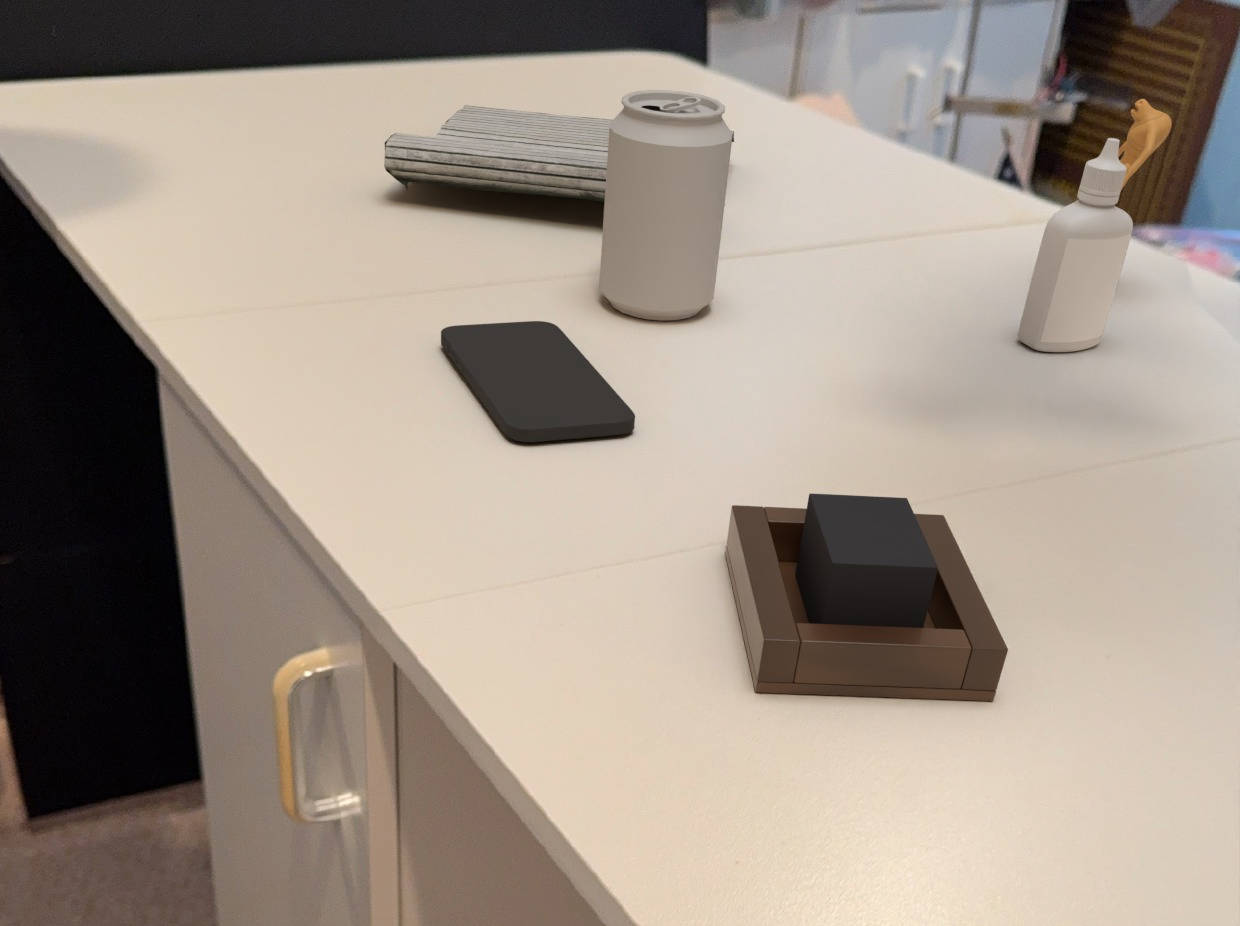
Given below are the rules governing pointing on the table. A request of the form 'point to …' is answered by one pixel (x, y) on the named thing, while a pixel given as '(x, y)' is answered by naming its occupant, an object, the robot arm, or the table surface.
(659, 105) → the can
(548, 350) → the phone
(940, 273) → the table surface
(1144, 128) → the figurine
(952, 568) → the socket
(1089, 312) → the eye dropper bottle
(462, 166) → the mat
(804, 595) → the block
